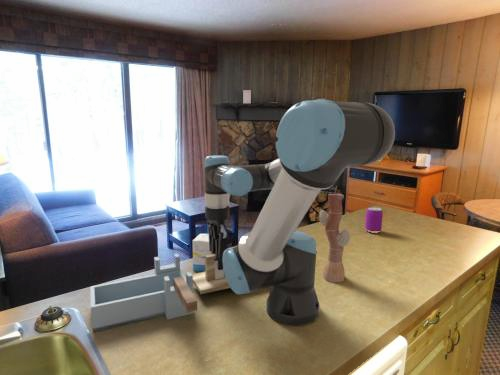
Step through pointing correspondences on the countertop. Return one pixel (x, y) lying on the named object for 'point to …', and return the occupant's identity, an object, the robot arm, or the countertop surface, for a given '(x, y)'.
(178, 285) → the cross bar
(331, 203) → the vase
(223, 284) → the lid
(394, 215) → the countertop surface
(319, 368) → the countertop surface
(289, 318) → the robot arm
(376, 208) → the beverage can
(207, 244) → the ink box
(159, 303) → the grey box with brackets
